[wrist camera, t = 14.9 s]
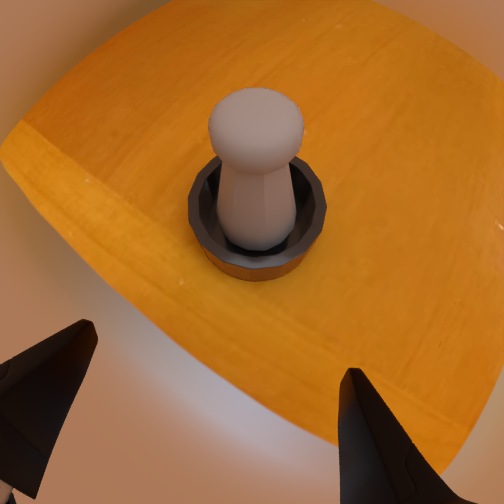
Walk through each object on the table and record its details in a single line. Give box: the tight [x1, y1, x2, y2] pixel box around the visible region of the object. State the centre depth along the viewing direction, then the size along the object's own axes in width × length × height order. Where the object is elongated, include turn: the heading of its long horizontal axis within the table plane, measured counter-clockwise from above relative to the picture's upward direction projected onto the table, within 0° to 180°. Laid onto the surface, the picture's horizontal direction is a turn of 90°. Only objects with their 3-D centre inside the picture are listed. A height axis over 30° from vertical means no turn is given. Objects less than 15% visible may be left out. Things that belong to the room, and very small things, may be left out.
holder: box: [188, 156, 327, 282], centre depth 22 cm, size 10×10×4 cm
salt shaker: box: [208, 88, 304, 251], centre depth 17 cm, size 6×6×13 cm
